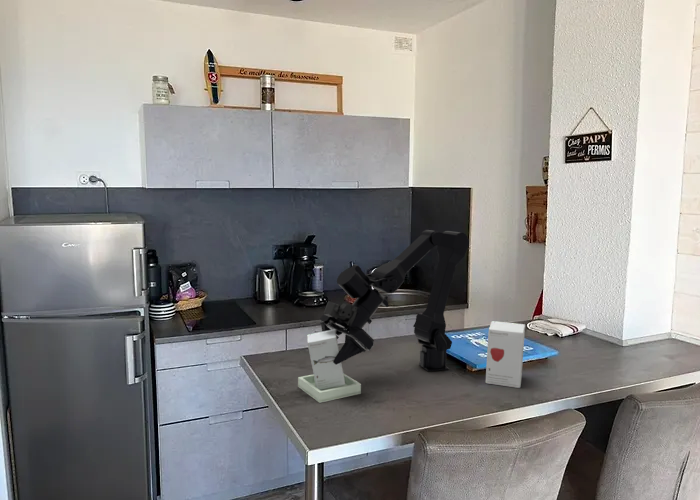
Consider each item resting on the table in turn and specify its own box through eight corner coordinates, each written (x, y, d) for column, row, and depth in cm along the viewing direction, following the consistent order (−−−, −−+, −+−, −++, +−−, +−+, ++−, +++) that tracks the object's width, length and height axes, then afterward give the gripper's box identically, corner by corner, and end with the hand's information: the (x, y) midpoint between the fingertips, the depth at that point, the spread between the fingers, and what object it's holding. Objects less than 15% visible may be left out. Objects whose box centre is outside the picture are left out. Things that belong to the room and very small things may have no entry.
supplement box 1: (316, 391, 131) (306, 342, 130) (316, 380, 139) (306, 333, 137) (346, 385, 132) (336, 336, 130) (344, 374, 139) (335, 328, 137)
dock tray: (337, 378, 144) (337, 369, 143) (360, 393, 134) (361, 383, 133) (298, 386, 137) (298, 377, 137) (319, 402, 128) (319, 392, 127)
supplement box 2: (484, 383, 142) (487, 328, 140) (488, 372, 150) (490, 320, 148) (520, 388, 138) (523, 332, 137) (522, 377, 147) (525, 323, 145)
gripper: (325, 283, 142) (288, 330, 138) (364, 296, 127) (322, 349, 122) (351, 309, 147) (315, 354, 143) (390, 324, 132) (352, 376, 127)
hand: (325, 358), depth 134 cm, fingers closed on supplement box 1, 9 cm apart
